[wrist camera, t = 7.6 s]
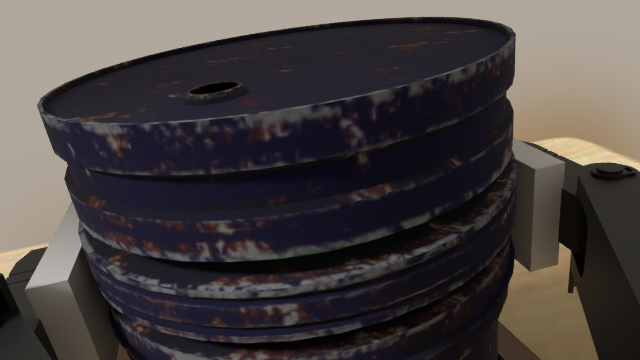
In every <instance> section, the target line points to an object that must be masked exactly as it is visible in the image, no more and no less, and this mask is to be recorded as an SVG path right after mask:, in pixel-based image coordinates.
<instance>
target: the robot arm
mask: <svg viewBox="0 0 640 360" xmlns="http://www.w3.org/2000/svg"><path fill="white" fill-rule="evenodd" d="M512 150H513V152H514V156H515V159H516V162H517V174H516V178H517V187H516V211H515V220H514V226H513V228H512V230H511V236H512V240H513V245H514V250H515V259H516V260H517V261H518V262H519V263H520V264H522V265H523V266H524V267H525V268H526V269H528V270H529V271H530V272H532V271H536V270H539V269H543V268H546V267H550V266H554V265H557V264H558V254H559V242H560V243H561V244H563V245H564V246H565V247H567V248H568V249H570V250H571V261H570V273H569V285H568V293H573V289H574V287H575V286H576V287H577V291H578V294H579V297H580V300H581V304H582V307H583V310H584V313H585V316H586V320H587V323H588V326H589V329H590V332H591V336H592V339H593V342H594V345H595V349H596V352H597V355H598V358H599V360H640V172H639V171H638V170H637V169H635V168H633V167H630V166H627V165H621V164H616V163H593V164H588V165H585V166H582V165H580V164H578V163H575V162H573V161H571V160H569V159H567V158H565V157H562V156H558V154H556V153H554V152H552V151H548V150H547V149H545V148H543V147H541V146H539V145H536V144H533V143H529V142H524V141H519V140H517V139H515V138H513V146H512ZM78 227H79V218H78V215H77V212H76V210H75V207H74V204H73V202H72V203H71V205H70V207H69V209H68V210H67V212H66V214H65V216H64V218H63V220H62V221H61V223H60V225H59V227H58V229H57V231H56V232H55V234H54V236H53V238H52V240H51V242H50V244H49V246H48V247H45V248H40V249H36V250H31V251H30V252H29V253H28V254H27V255H25V256H24V257H23V258H22V259H20V260H19V261H18V262H17V263H16V264H15V266H14V267H13V269H12V271H11V272H10V274H9V277H7V279H6V280H5V278H4V276H3V274H1V273H0V360H117V354H118V349H119V344H120V342H119V341H118V339H117V338H116V337H115V335H114V332H113V329H112V326H111V323H110V319H109V302H108V301H107V299H106V298H105V297H104V296H103V294H102V293H101V292H100V291H99V289H98V286H97V284H96V281H95V277H94V276H93V273H92V270H91V268H90V265H89V263H88V260H87V257H86V253H85V252H84V249H83V247H82V243H81V240H80V237H79V234H78Z"/></svg>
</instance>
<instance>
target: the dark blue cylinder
mask: <svg viewBox="0 0 640 360" xmlns="http://www.w3.org/2000/svg"><path fill="white" fill-rule="evenodd" d="M515 35H516V34H515V33H514V31H513V30H512V29H511V28H510V27H508V26H505V25H503V24H501V23H496V22H492V21H488V20H480V19H472V18H456V17H406V18H387V19H372V20H360V21H349V22H338V23H329V24H320V25H311V26H304V27H296V28H288V29H282V30H275V31H268V32H262V33H256V34H250V35H244V36H238V37H232V38H227V39H222V40H216V41H211V42H206V43H201V44H197V45H191V46H187V47H182V48H178V49H173V50H169V51H165V52H161V53H157V54H153V55H149V56H145V57H141V58H137V59H134V60H130V61H127V62H123V63H120V64H116V65H113V66H110V67H107V68H103V69H100V70H98V71H95V72H92V73H89V74H86V75H84V76H81V77H79V78H76V79H74V80H72V81H69V82H67V83H64V84H63V85H61V86H59V87H57V88H55V89H53V90H52V91H50V92H49V93H47V94H46V95H45V96H43V97H42V98H41V99H40V101H39V103H38V104H37V106H38V109H39V112H40V115H41V118H42V121H43V123H44V126H45V129H46V131H47V134H48V137H49V139H50V142H51V145H52V148H53V150H54V153H55V154H56V155H58V156H59V157H60V158H62V159H63V160H64V161H66V162H67V164H68V167H67V170H66V174H65V182H66V185H67V188H68V191H69V193H70V196H71V199H72V202H73V204H74V207H75V210H76V212H77V215H78V218H79V227H78V234H79V237H80V240H81V243H82V247H83V249H84V252H85V253H86V257H87V260H88V263H89V265H90V268H91V270H92V273H93V276H94V277H95V281H96V284H97V286H98V289H99V291H100V292H101V293H102V294H103V296H104V297H105V298H106V299H107V301H108V302H109V319H110V323H111V326H112V329H113V332H114V335H115V337H116V338H117V339H118V341H119V342H120V344H121V345H122V346H123V348H124V349H125V350H126V352H127V354H128V356H129V358H130V359H131V360H497V355H498V318H499V315H500V313H501V310H502V308H503V305H504V303H505V300H506V298H507V293H508V284H509V281H510V279H511V276H512V274H513V269H514V258H515V250H514V245H513V240H512V236H511V230H512V228H513V226H514V220H515V211H516V187H517V178H516V174H517V162H516V159H515V156H514V152H513V150H512V146H513V108H512V106H511V103H510V101H509V100H508V99H507V98H506V91H507V90H508V89H509V88H510V86H511V85H512V83H513V79H514V74H515Z"/></svg>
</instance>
